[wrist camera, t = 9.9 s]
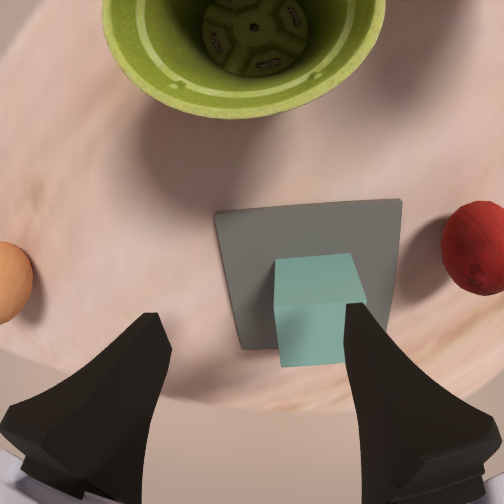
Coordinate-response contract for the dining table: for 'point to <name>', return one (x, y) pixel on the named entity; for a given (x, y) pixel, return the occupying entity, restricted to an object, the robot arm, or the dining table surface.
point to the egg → (13, 281)
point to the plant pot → (239, 51)
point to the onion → (475, 247)
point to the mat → (305, 255)
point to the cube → (314, 307)
